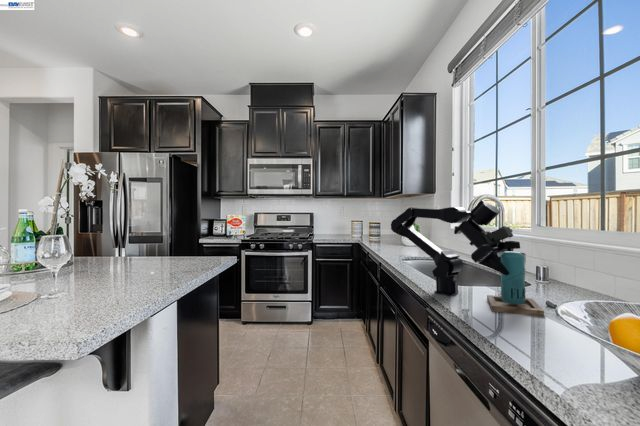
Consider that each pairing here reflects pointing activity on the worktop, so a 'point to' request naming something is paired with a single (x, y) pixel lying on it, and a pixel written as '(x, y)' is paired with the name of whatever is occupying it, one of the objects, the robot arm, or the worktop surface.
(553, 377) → the worktop surface
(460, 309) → the worktop surface
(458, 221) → the robot arm
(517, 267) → the beverage bottle
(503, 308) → the walnut tray
